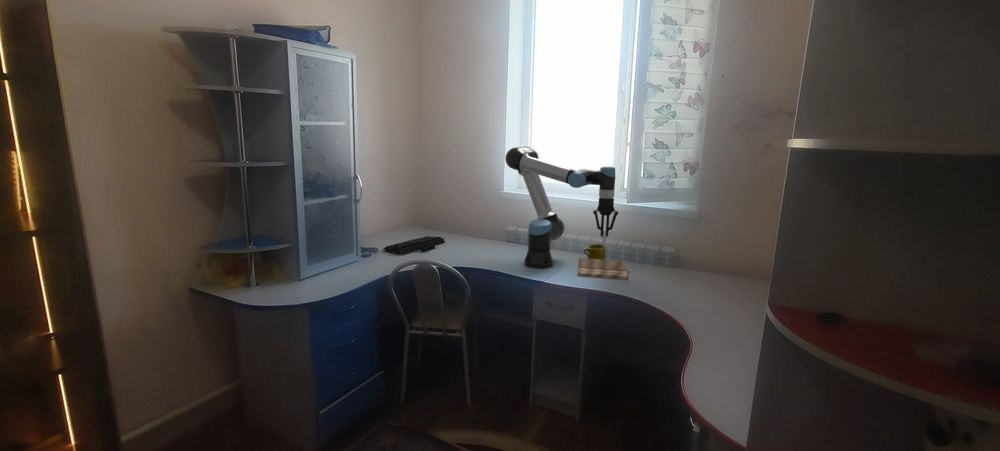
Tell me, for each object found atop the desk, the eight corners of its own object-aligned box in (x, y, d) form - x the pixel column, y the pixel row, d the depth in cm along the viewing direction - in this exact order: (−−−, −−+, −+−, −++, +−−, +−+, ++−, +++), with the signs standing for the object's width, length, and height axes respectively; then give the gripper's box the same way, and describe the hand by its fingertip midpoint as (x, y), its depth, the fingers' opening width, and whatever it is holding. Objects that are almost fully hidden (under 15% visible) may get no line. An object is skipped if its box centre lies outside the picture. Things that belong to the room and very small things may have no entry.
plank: (578, 269, 246) (578, 266, 245) (578, 260, 252) (578, 257, 251) (626, 272, 242) (626, 270, 241) (625, 263, 248) (625, 261, 247)
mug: (606, 254, 270) (604, 239, 265) (608, 264, 261) (605, 249, 256) (584, 256, 272) (582, 242, 267) (585, 267, 263) (583, 252, 258)
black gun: (426, 239, 304) (426, 232, 303) (452, 245, 292) (452, 237, 291) (381, 251, 275) (381, 243, 274) (408, 258, 263) (408, 250, 262)
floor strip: (577, 275, 237) (577, 272, 237) (578, 270, 246) (578, 267, 245) (627, 279, 233) (627, 276, 232) (626, 273, 242) (626, 270, 241)
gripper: (593, 198, 239) (591, 243, 244) (620, 199, 237) (617, 245, 242) (593, 195, 246) (591, 240, 251) (619, 196, 244) (616, 241, 249)
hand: (603, 242), depth 247 cm, fingers closed
